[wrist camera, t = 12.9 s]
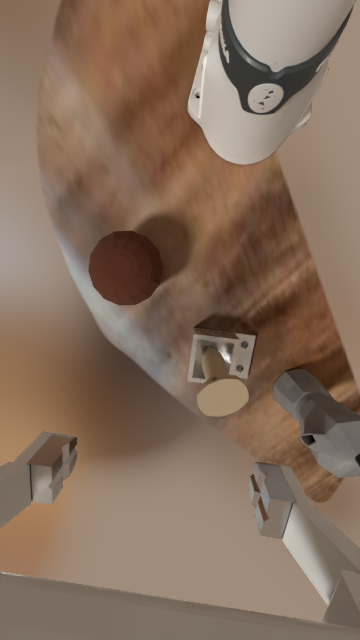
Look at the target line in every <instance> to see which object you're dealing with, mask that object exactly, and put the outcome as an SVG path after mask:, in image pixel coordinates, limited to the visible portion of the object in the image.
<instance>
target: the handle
mask: <svg viewBox="0 0 360 640" xmlns="http://www.w3.org/2000/svg"><path fill="white" fill-rule="evenodd" d="M202 356H203V357H202V368H203V372H204V375H205V379H206V382H204V383H203V384H202V385H201V387H200V388H199V389H198V390H197V403H198V406H199V408H200V410H201V411H202V412H203V413H204V414H205V415H207V416H225V415H228V414H231V413H234V412H236V411H238V410H239V409H240V408H241V407H242V406H243V405H244V404H246V403H247V402H248V397H249V395H248V391H247V388H246V386H245V384H244V382H243V381H242V380H241V379H240V378H239V377H238V376H236V375H229V374H228V370H227V366H226V363H225V360H224V358H223V356H222V354H221V353H220V352H219V351H218V349H217V348H216V347H214V348H212V347H210V346H209V347H207V348H206V350H205V351H204V352H203V354H202Z"/></svg>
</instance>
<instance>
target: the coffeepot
mask: <svg viewBox="0 0 360 640" xmlns="http://www.w3.org/2000/svg"><path fill="white" fill-rule="evenodd" d="M274 395H275V400H276V401H277V402H278V403H279V404H280V405H281V406H282V407H283V408H284V409H285V410H286V411H287V412H288V413H289V414H290V415H292V416H293V417H294V418H295V419H296V420H298V421H299V424H300V429H301V431H302V433H303V434H300V439H301V441H302V442H303V444H305V445H306V446H307V447H309V448H310V449H311V451H312V453H313V455H314V457H315V459H316V461H317V463H318V465H320V466H321V467H323V468H324V469H326V470H327V471H329V472H330V473H332V474H333V475H335V476H337V477H338V478H343V477H351V476H352V477H353V476H360V416H359V415H358V414H356V413H354V412H353V411H351V410H350V409H348V408H346V407H345V406H343V405H342V404H340V403H339V402H337V401H335V400H334V399H333V397H332V396H331V395H330V394H329V392H328V391H327V390H326V389H325V387H324V386H323V385H322V383H321V382H320V381H319V380H318V378H316V377H315V376H313V375H312V374H310V373H309V372H307V371H306V370H305V369H295V370H290V371H286V372H284V373H283V374H282V375H281V376H280V377H279V378H278V379H277V381H276V383H275V384H274Z"/></svg>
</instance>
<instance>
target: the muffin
mask: <svg viewBox="0 0 360 640" xmlns="http://www.w3.org/2000/svg"><path fill="white" fill-rule="evenodd" d="M162 269H163V267H162V263H161V259H160V255H159V251H158V250H157V249H156V248H155V246H154V245H153V244H152V243H151V242H150V240H149V239H148V238H147V237H144V236H142V235H140V234H138V233H135V232H133V231H117V232H113V233H111V234H110V235H108V236H106V237H104V238H103V239H101V240H100V241H99V242H98V244H97V245H96V247H95V248H94V250H93V251H92V253H91V256H90V263H89V274H90V277H91V280H92V283H93V287H94V288H95V289H96V290H97V291H98V292H99V293H100V294H101V296H102V297H103V298H104V299H106V300H108V301H111V302H113V303H115V304H118V305H136V304H138V303H140V302H142V301H144V300H146V299H148V298H149V297H150V296H151V295H152V294H153V292H154V291H155V290H156V288H157V287H158V286H159V284H160V279H161V274H162Z"/></svg>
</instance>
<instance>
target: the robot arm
mask: <svg viewBox="0 0 360 640" xmlns="http://www.w3.org/2000/svg"><path fill="white" fill-rule="evenodd" d="M355 2H356V0H210V3H209V8H208V13H207V20H206V30H207V33H206V35H205V39H204V45H203V48H202V52H201V56H200V60H199V63H198V67H197V71H196V74H195V78H194V82H193V86H192V89H191V93H190V97H189V101H188V112H189V114H190V116H191V117H192V118H193V119H194V120H195V121H196V122H197V123H198V124H199V125H200V126H201V128H202V130H203V132H204V134H205V137H206V139H207V141H208V143H209V145H210V146H211V147H212V149H213V150H214V151H215V152H216V153H217V154H218V155H219V156H220V157H222V158H223V159H225V160H227V161H229V162H232V163H236V164H252V163H256V162H259V161H261V160H263V159H265V158H267V157H268V156H270V155H271V154H273V153H274V152H275V151H276V150H277V149H278V148H279V147H280V146H281V144H282V143H283V142H284V141H285V139H286V138H287V137H288V136H289V135H290V134H292V133H294V132H296V131H297V130H299V129H300V128H302V127H303V126H304V125H305V124H306V123H307V122H308V120H309V118H310V116H311V110H312V109H311V108H312V100H313V98H314V96H315V94H316V93H317V91H318V89H319V88H320V86H321V84H322V83H323V81H324V79H325V77H326V75H327V73H328V70H329V68H328V67H327V64H328V57H329V56H330V54H331V52H332V51H333V49H334V48H335V46H336V44H337V42H338V40H339V38H340V36H341V34H342V32H343V30H344V28H345V26H346V24H347V22H348V20H349V18H350V15H351V12H352V9H353V6H354V3H355ZM196 96H200V98H199V99H197V98H196ZM76 445H77V437H75V436H69V435H63V434H58V433H50V432H42V433H41V434H40V435H39V436H38V437H37V438H36V439H35V440H34V441H33V442H32V443H31V444H30V445H29V446H28V447H27V448H26V449H25V450H24V451H23V453H21V454H20V455H19V456H18V458H17V459H16V460H15V461H14V462H8V463H6V464H4V465H2V466H0V528H1V527H2V526H4V525H5V524H6V523H7V522H8V521H10V520H11V519H12V518H13V517H15V516H16V515H17V514H18V513H19V512H21V511H22V510H23V509H25V508H26V507H27V506H28V505H30V504H31V502H39V503H48V504H53V502H54V501H55V499H56V497H57V496H58V494H59V493H60V491H61V489H62V488H63V481H64V480H65V479H66V478H68V477H69V476H70V474H71V473H72V471H73V469H74V466H75V464H76V460H77V451H76V449H75V447H76ZM252 470H253V473H254V474H253V475H251V476H250V480H249V494H250V498H251V503H252V504H253V505H254V507H255V508H256V513H255V517H256V521H257V525H258V528H259V532H260V535H263V536H268V537H273V538H279V539H282V541H283V542H284V544H285V545H286V547H287V548H288V550H289V551H290V552H291V554H292V555H293V556H294V558H295V559H296V561H297V562H298V564H299V565H300V567H301V568H302V569H303V571H304V572H305V574H306V575H307V576H308V578H309V579H310V581H311V582H312V584H313V585H314V586H315V588H316V589H317V591H318V592H319V593H320V595H321V596H322V598H323V599H324V601H325V602H326V603H327V605H328V608H327V610H326V613H325V615H324V618H323V620H322V622H315V621H309V620H303V619H296V618H290V617H284V616H278V615H271V614H265V613H258V612H253V611H246V610H240V609H234V608H227V607H221V606H215V605H208V604H202V603H196V602H190V601H184V600H177V599H171V598H165V597H159V596H152V595H146V594H140V593H133V592H127V591H120V590H114V589H108V588H101V587H95V586H89V585H83V584H76V583H70V582H64V581H57V580H51V579H45V578H38V577H32V576H26V575H19V574H13V573H7V572H1V571H0V640H360V548H359V547H358V546H357V545H356V544H355V543H354V542H353V541H352V540H351V539H349V538H348V537H347V536H346V535H345V534H344V533H343V532H342V531H341V530H340V529H339V528H338V527H337V526H335V525H334V524H333V523H332V522H331V521H330V520H329V519H328V518H327V517H326V516H325V515H324V514H323V513H322V512H321V511H319V510H318V509H317V508H316V507H315V506H311V504H310V503H309V501H308V499H307V497H306V495H305V493H304V491H303V489H302V487H301V486H300V484H299V482H298V480H297V478H296V476H295V474H294V472H293V471H292V469H291V468H290V467H289V466H286V465H278V464H277V465H276V464H270V463H262V462H254V463H253V467H252Z"/></svg>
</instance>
